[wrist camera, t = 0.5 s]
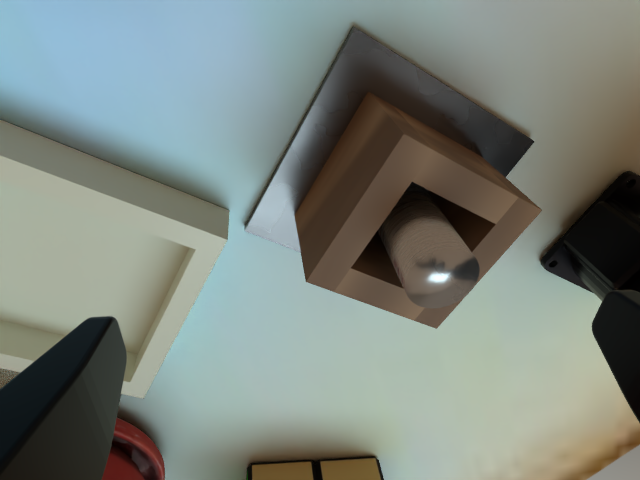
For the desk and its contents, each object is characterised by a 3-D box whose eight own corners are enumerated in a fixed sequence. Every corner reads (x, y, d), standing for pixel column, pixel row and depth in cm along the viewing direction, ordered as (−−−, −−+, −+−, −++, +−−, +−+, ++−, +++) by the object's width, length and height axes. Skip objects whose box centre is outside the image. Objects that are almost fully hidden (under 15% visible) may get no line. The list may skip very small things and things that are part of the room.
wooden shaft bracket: (482, 157, 21) (542, 210, 16) (403, 261, 23) (436, 328, 19) (368, 91, 18) (403, 133, 14) (294, 215, 21) (306, 281, 17)
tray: (229, 210, 21) (227, 239, 19) (152, 362, 25) (143, 398, 23) (-45, 101, 17) (-86, 123, 15) (-77, 306, 21) (-112, 344, 19)
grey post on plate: (529, 138, 21) (647, 218, 15) (407, 289, 25) (459, 400, 19) (353, 26, 17) (412, 69, 11) (244, 226, 21) (243, 338, 15)
